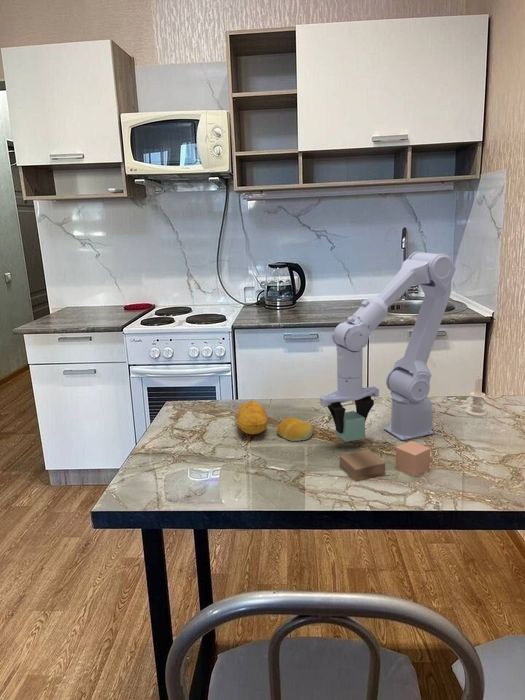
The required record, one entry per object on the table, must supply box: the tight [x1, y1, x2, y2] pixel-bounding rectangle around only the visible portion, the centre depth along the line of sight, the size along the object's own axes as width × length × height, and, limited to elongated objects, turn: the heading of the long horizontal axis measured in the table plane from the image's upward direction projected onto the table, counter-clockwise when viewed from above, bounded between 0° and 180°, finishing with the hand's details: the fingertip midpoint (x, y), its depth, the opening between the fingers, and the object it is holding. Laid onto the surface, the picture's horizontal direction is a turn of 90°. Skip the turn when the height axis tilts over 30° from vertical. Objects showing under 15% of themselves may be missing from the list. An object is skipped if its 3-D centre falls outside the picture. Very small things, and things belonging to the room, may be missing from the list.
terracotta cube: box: [394, 440, 431, 478], centre depth 111 cm, size 5×5×5 cm
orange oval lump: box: [236, 400, 268, 435], centre depth 133 cm, size 8×14×7 cm, turn 7°
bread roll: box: [276, 417, 314, 442], centre depth 131 cm, size 8×9×4 cm
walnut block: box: [339, 449, 386, 482], centre depth 112 cm, size 7×7×3 cm
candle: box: [465, 377, 488, 418], centre depth 138 cm, size 5×5×10 cm
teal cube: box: [335, 410, 366, 443], centre depth 123 cm, size 5×5×5 cm
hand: (350, 429), depth 123 cm, fingers closed on teal cube, 5 cm apart
